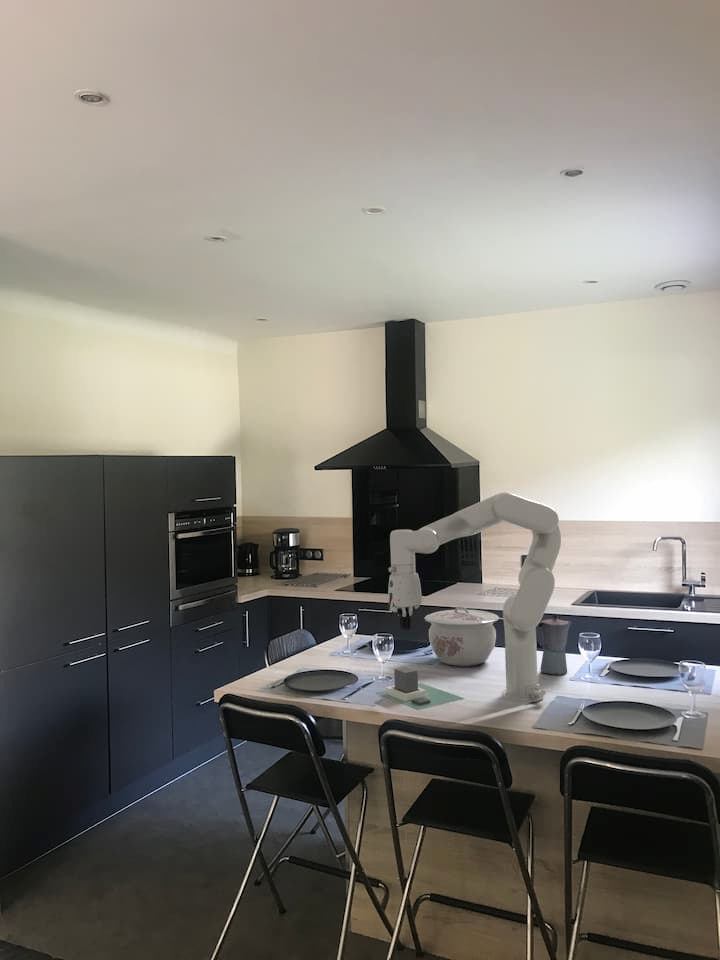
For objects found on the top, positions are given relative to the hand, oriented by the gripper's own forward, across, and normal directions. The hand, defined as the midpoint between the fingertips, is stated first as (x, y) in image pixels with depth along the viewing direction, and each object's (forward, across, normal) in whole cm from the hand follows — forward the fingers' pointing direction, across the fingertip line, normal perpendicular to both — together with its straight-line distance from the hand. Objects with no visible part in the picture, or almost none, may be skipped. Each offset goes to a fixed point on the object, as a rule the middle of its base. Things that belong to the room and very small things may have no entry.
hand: (405, 628), depth 234 cm
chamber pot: (+22, +44, +24) cm, 55 cm away
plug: (+21, 0, 0) cm, 21 cm away
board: (+22, +2, -2) cm, 22 cm away
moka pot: (+22, +58, -7) cm, 62 cm away
